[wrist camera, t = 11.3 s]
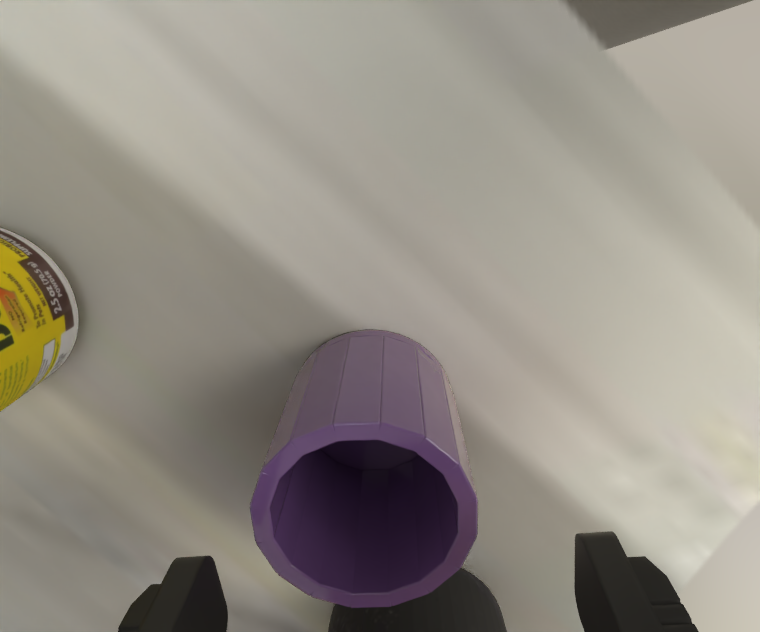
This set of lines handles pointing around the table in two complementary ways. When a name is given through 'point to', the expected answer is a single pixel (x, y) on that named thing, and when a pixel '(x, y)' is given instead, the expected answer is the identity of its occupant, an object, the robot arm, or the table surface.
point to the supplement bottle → (32, 317)
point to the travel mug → (429, 611)
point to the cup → (367, 476)
